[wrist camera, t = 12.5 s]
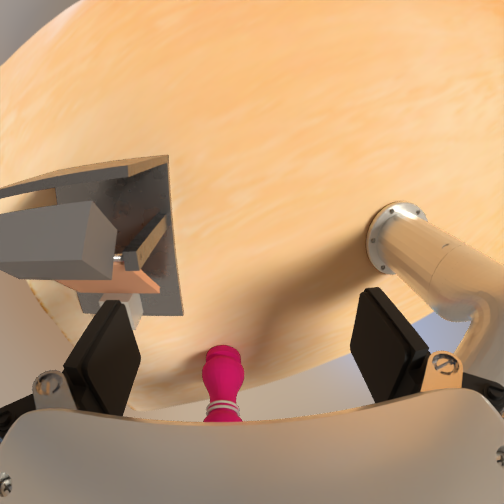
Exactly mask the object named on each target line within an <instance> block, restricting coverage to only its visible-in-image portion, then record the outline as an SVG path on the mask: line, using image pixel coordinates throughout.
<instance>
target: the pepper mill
mask: <svg viewBox="0 0 504 504" xmlns="http://www.w3.org/2000/svg"><path fill="white" fill-rule="evenodd" d="M202 378H203V382H204V384H205V386H206V388H207V390H208V393H209V396H210V404H209V405H208V406H207V412H206V415H207V417H206V418H205V419H204V421H203V422H243V421H242V419H241V418H240V417H239V416H240V413H239V411H240V410H239V406H238V405H237V404H236V396H237V393H238V391H239V389H240V387H241V385H242V383H243V380H244V369H243V367H242V365H241V358H240V354H239V352H238V351H237V350H236V349H234V348H233V347H230V346H226V345H220V346H216V347H213V348H211V349H210V350H209V351H208V353H207V355H206V364H205V365H204V367H203V370H202Z"/></svg>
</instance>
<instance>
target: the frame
mask: <svg viewBox="0 0 504 504" xmlns="http://www.w3.org/2000/svg"><path fill="white" fill-rule="evenodd" d="M54 187H55V190H56V198H57V205H61V204H68V203H76V202H84V201H93V202H94V203H95V205H96V206H97V207H98V208H99V209H100V211H101V212H102V213H103V214H104V215H105V216H106V218H107V219H108V220H109V221H110V222H111V223H112V225H113V226H114V227H115V228H116V229H117V236H116V244H115V253H114V262H124V266H125V271H140V269H141V270H142V271H143V272H144V273H145V274H146V275H147V276H148V277H150V278H151V279H152V280H153V281H154V282H155V283H156V284H157V285H158V286H160V293H139V294H140V299H141V303H142V308H143V314H142V315H144V316H183V315H184V310H183V303H182V297H181V289H180V282H179V274H178V266H177V258H176V249H175V239H174V229H173V218H172V206H171V193H170V177H169V157H168V155H161V156H150V157H141V158H132V159H124V160H117V161H110V162H103V163H96V164H90V165H84V166H79V167H73V168H68V169H63V170H58V171H53V172H50V173H46V174H43V175H39V176H36V177H33V178H29V179H26V180H23V181H20V182H17V183H14V184H11V185H8V186H5V187H2V188H0V199H1V198H5V197H9V196H14V195H19V194H23V193H28V192H33V191H38V190H43V189H49V188H54ZM77 294H78V297H79V301H80V304H81V307H82V310H83V313H90V314H96V313H97V312H98V310H99V309H100V304H99V300H100V299H101V297H102V296H103V294H104V293H80V292H78V291H77Z"/></svg>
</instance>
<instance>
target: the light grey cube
mask: <svg viewBox="0 0 504 504" xmlns="http://www.w3.org/2000/svg"><path fill="white" fill-rule="evenodd" d="M106 300H120V301H121V303H122V304H125V306H126V310H127V313H128V317H129V320H130V324H131V327H132V330H136V328H137V325H138V323H139V321H140V318H141V316H142V314H143V308H142V303H141V299H140V294H139V293H104V294H103V296H102V297H101V299H100V300H99V304H100V307H101V306H102V305H103V303H104V302H105V301H106Z"/></svg>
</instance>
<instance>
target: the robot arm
mask: <svg viewBox="0 0 504 504" xmlns="http://www.w3.org/2000/svg"><path fill="white" fill-rule="evenodd" d="M366 250H367V255H368V257H369V260H370V261H371V263H372V264H373V265H374V266H375V267H376V269H378V270H379V271H380V272H382V273H385V274H390V275H394V274H397V275H398V276H399V277H400V278H401V279H402V280H403V281H404V282H405V283H406V284H407V285H408V286H409V287H410V288H411V289H412V290H413V291H414V292H415V293H416V294H417V295H419V296H420V297H421V298H422V299H423V300H424V301H425V302H426V303H427V304H428V305H429V306H430V307H431V308H432V309H433V310H434V311H435V312H436V313H437V314H438V315H439V316H440V317H441V318H443V319H445V320H448V321H451V322H466V321H471V324H470V326H469V328H468V330H467V332H466V334H465V336H464V338H463V339H462V341H461V342H460V344H459V346H458V347H457V349H456V350H455V352H454V353H453V354H452V353H450V352H447V351H437V352H434V353H432V354H430V352H429V351H428V349H429V347H428V346H427V344H426V343H425V342H424V341H423V339H422V338H421V337H420V336H419V334H418V333H417V332H416V331H415V329H414V328H413V327H412V326H411V324H410V323H409V322H408V321H407V319H406V318H405V317H404V316H403V315H402V313H401V312H400V311H399V310H398V309H397V307H396V306H395V305H394V304H393V303H392V301H391V300H390V299H389V298H388V297H387V296H386V294H385V293H384V292H383V291H382V290H381V289H380V288H379V287H374V288H366V289H365V290H364V292H362V293H361V294H360V297H359V303H358V308H357V314H356V319H355V324H354V329H353V333H352V338H351V342H350V350H351V353H352V355H353V357H354V359H355V361H356V363H357V365H358V368H359V370H360V372H361V374H362V376H363V378H364V380H365V382H366V384H367V386H368V389H369V391H370V392H371V395H372V397H373V399H374V401H375V404H370V405H366V406H361V407H356V408H352V409H346V410H341V411H336V412H330V413H324V414H317V415H310V416H302V417H294V418H285V419H274V420H262V421H246V422H245V421H244V422H182V421H181V422H180V421H164V420H151V419H141V418H132V417H123V413H124V410H125V407H126V404H127V401H128V398H129V395H130V391H131V388H132V385H133V382H134V379H135V377H136V374H137V371H138V368H139V365H140V362H141V355H140V352H139V349H138V346H137V343H136V340H135V337H134V333H133V330H132V327H131V324H130V320H129V317H128V313H127V310H126V306H125V304H122V303H121V301H120V300H106V301H105V302H104V303H103V305H102V306H101V307H100V309H99V310H98V312H97V313H96V315H95V316H94V318H93V319H92V321H91V322H90V324H89V325H88V327H87V328H86V330H85V331H84V333H83V334H82V336H81V338H80V339H79V341H78V342H77V344H76V345H75V347H74V349H73V350H72V352H71V354H70V355H69V357H68V359H67V360H66V362H65V363H64V365H63V367H64V370H63V372H62V373H61V372H60V371H57V370H49V371H45V372H44V373H42V374H40V375H39V376H38V377H37V378H36V379H35V381H34V383H33V386H32V391H33V394H31V395H29V396H26V397H24V398H22V399H20V400H17V401H15V402H13V403H11V404H9V405H6V406H4V407H2V408H0V504H504V264H502V263H499V262H498V261H496V260H494V259H492V258H491V257H489V256H487V255H485V254H483V253H482V252H480V251H478V250H477V249H475V248H474V247H472V246H470V245H468V244H466V243H465V242H463V241H461V240H460V239H458V238H456V237H454V236H453V235H451V234H449V233H447V232H446V231H444V230H442V229H440V228H438V227H436V226H435V225H433V224H431V223H429V222H428V220H427V218H426V215H425V214H424V212H423V211H422V210H421V209H420V208H419V207H418V206H416V205H414V204H412V203H410V202H406V201H399V202H394V203H392V204H389V205H388V206H386V207H385V208H383V209H382V210H381V211H380V212H379V213H378V214H377V215H376V217H375V218H374V219H373V221H372V223H371V225H370V227H369V230H368V233H367V239H366Z"/></svg>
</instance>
